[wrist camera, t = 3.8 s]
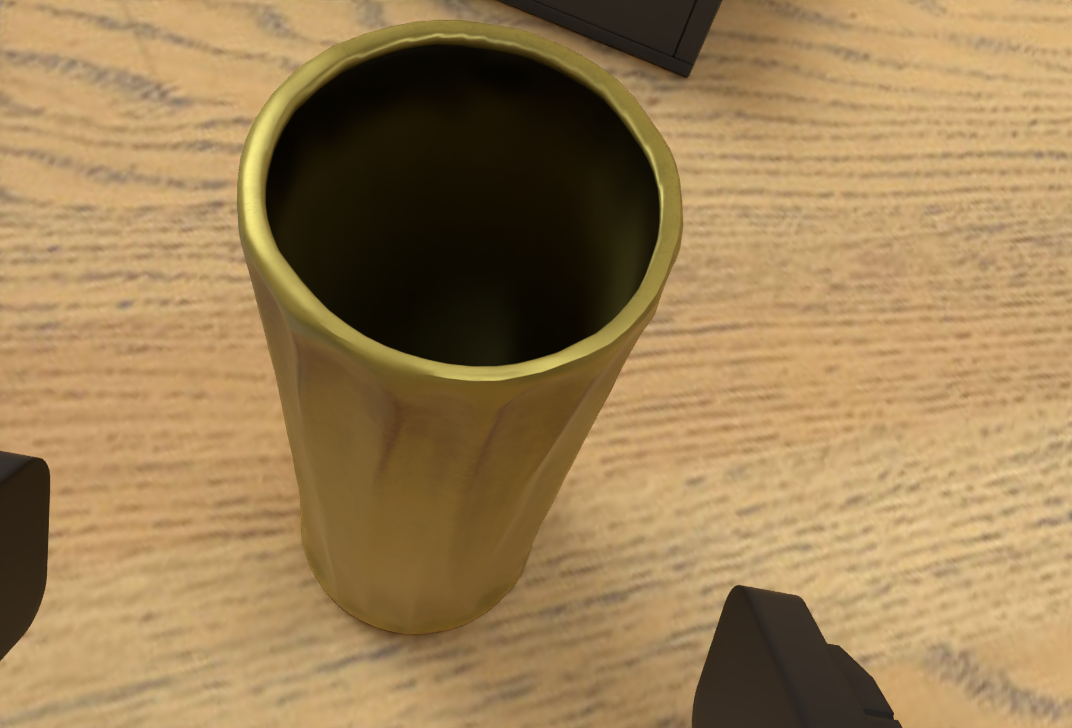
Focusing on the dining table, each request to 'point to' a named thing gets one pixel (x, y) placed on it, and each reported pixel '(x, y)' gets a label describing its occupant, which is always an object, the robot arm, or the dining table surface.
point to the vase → (447, 297)
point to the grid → (636, 25)
